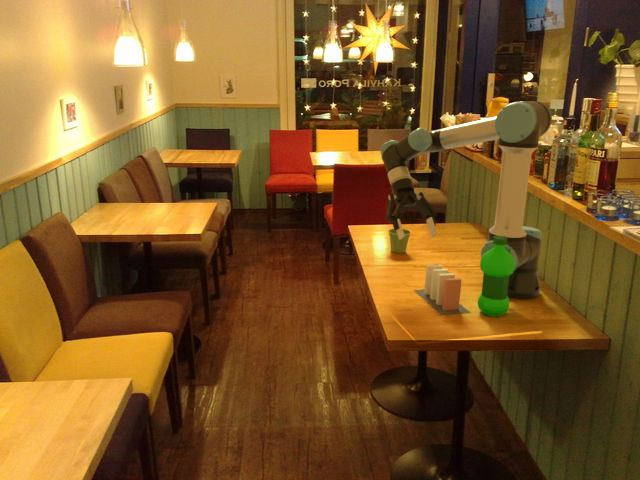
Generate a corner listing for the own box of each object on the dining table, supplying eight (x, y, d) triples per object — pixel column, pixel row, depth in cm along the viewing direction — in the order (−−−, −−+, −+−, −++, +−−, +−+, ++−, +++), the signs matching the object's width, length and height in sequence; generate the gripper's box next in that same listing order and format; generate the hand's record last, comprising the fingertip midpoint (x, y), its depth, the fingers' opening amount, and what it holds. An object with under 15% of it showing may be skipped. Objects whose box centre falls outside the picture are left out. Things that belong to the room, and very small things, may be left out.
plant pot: (411, 255, 247) (412, 234, 245) (387, 254, 248) (389, 234, 245) (408, 248, 256) (409, 228, 254) (385, 247, 257) (387, 228, 254)
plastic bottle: (487, 322, 184) (495, 243, 177) (469, 309, 194) (476, 234, 187) (516, 319, 187) (525, 241, 180) (496, 306, 197) (504, 232, 190)
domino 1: (424, 293, 205) (426, 265, 202) (437, 292, 206) (440, 264, 203) (426, 294, 203) (428, 266, 200) (439, 293, 205) (442, 265, 202)
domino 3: (435, 303, 196) (438, 273, 194) (449, 302, 198) (452, 273, 195) (437, 305, 195) (440, 275, 192) (452, 303, 196) (454, 274, 193)
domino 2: (429, 298, 201) (432, 269, 198) (443, 297, 202) (446, 268, 199) (431, 299, 199) (434, 271, 196) (445, 298, 200) (448, 270, 198)
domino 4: (441, 308, 192) (444, 278, 189) (456, 307, 193) (459, 277, 191) (444, 310, 191) (447, 280, 188) (458, 309, 192) (461, 279, 189)
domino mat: (413, 291, 207) (413, 290, 207) (439, 289, 210) (440, 288, 210) (441, 317, 187) (441, 315, 187) (470, 314, 190) (471, 312, 189)
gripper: (423, 186, 223) (441, 238, 216) (366, 188, 212) (382, 243, 205) (435, 176, 217) (453, 230, 210) (376, 177, 206) (393, 234, 199)
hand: (418, 236), depth 207 cm, fingers open, 13 cm apart
